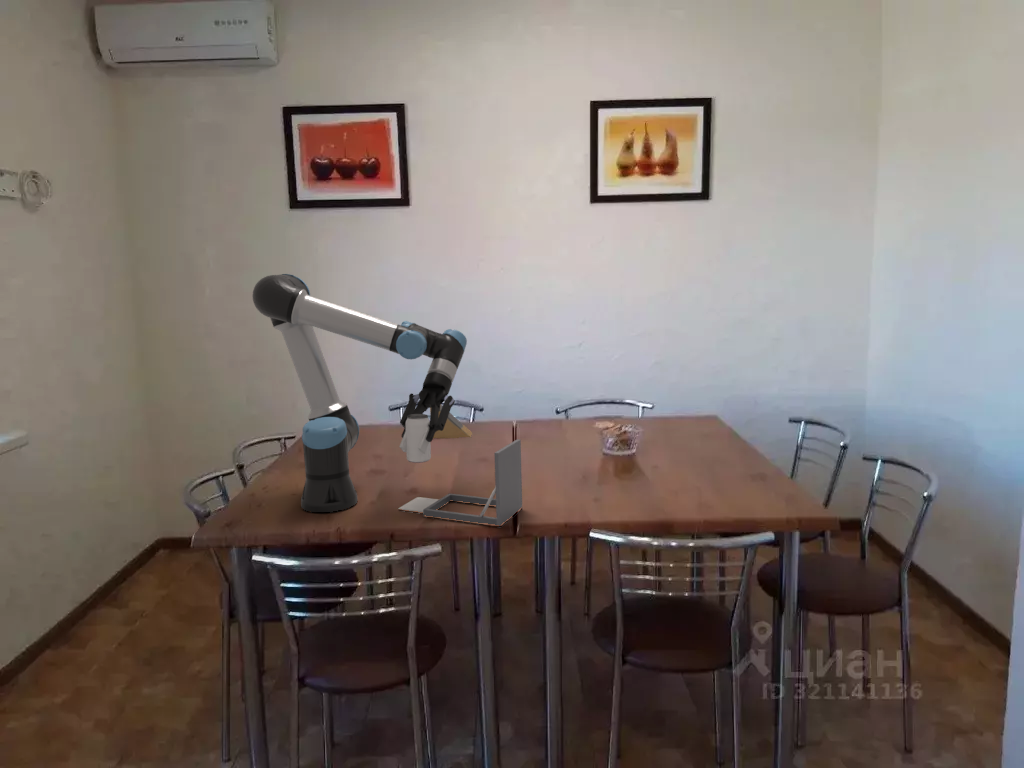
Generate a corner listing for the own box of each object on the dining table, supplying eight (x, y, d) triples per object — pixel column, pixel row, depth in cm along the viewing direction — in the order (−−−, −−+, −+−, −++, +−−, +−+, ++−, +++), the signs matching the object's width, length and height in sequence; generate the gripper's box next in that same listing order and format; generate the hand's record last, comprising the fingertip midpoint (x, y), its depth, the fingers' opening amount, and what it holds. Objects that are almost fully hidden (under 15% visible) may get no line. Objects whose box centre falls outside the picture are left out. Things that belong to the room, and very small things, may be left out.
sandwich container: (472, 437, 268) (470, 399, 266) (431, 439, 268) (429, 400, 266) (472, 432, 277) (471, 394, 274) (433, 433, 276) (431, 396, 274)
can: (401, 459, 191) (400, 416, 189) (420, 454, 196) (419, 412, 193) (416, 464, 187) (415, 420, 184) (435, 459, 191) (434, 416, 189)
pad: (398, 510, 190) (398, 508, 190) (417, 498, 199) (417, 496, 199) (424, 514, 187) (424, 511, 187) (442, 502, 196) (442, 500, 196)
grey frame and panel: (423, 517, 185) (420, 446, 182) (449, 500, 197) (446, 433, 194) (500, 527, 176) (498, 453, 173) (522, 509, 189) (520, 439, 185)
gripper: (473, 387, 198) (447, 460, 186) (417, 385, 205) (389, 454, 193) (463, 371, 193) (436, 445, 181) (406, 369, 200) (376, 440, 188)
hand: (412, 450), depth 187 cm, fingers closed on can, 5 cm apart
